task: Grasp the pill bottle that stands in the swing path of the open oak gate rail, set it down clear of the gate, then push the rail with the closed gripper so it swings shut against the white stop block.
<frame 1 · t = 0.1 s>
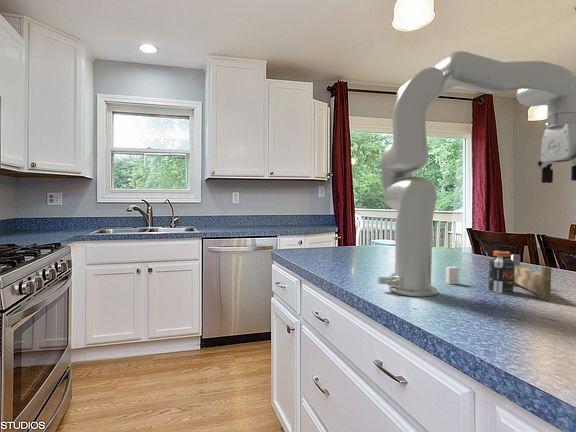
hand: (561, 181, 102), 31 cm above the worktop, fingers open, 9 cm apart
stop block: (451, 283, 108), on the worktop
gate: (531, 276, 97), point 4 cm above the worktop, hinge at 70.0°
hinge post: (514, 284, 107), on the worktop
pill bottle: (500, 292, 98), on the worktop
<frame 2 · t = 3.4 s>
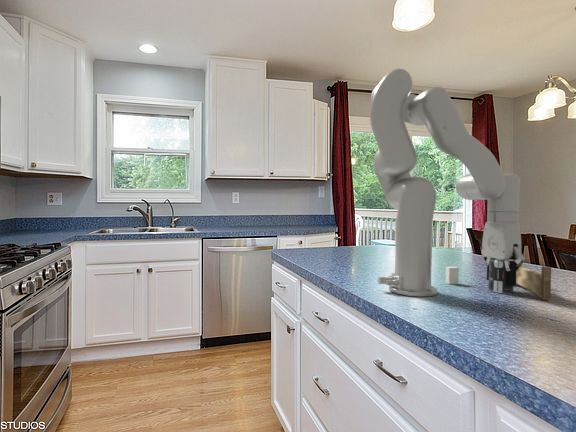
hand: (500, 282, 98), 3 cm above the worktop, fingers closed on pill bottle, 6 cm apart
pill bottle: (500, 292, 98), on the worktop, touching gripper
everything else where it was.
when the fingers open (4 cm above the worktop, at t = 8.5 s): pill bottle drops 1 cm, on the worktop.
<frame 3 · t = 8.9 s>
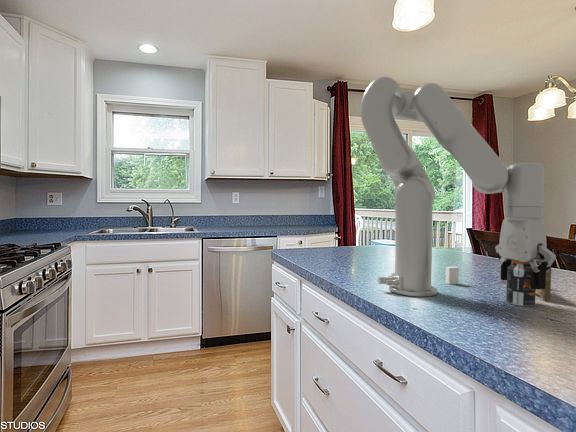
hand: (521, 284, 86), 5 cm above the worktop, fingers open, 9 cm apart
pill bottle: (520, 304, 86), on the worktop
everything else where it was.
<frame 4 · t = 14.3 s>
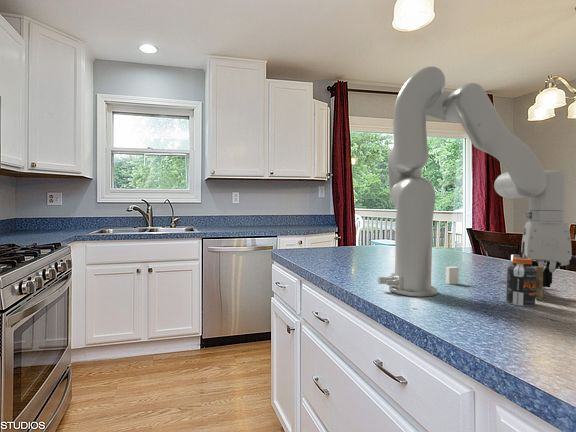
hand: (544, 286, 93), 3 cm above the worktop, fingers closed
gate: (527, 276, 97), point 4 cm above the worktop, hinge at 64.9°, touching gripper
everything else where it was.
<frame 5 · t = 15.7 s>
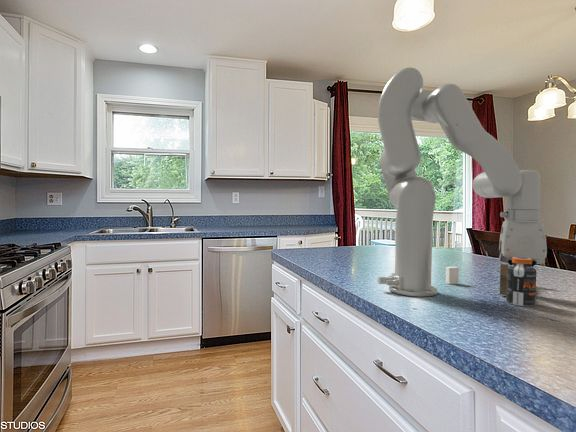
hand: (520, 284, 95), 3 cm above the worktop, fingers closed
gate: (509, 274, 99), point 4 cm above the worktop, hinge at 42.7°, touching gripper
everything else where it was.
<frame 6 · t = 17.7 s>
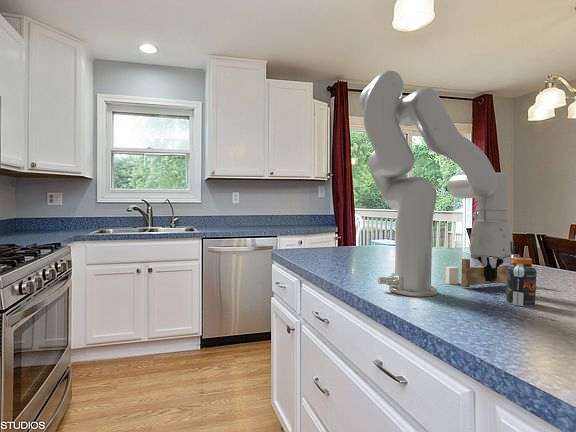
hand: (490, 280, 100), 3 cm above the worktop, fingers closed
gate: (487, 271, 104), point 5 cm above the worktop, hinge at 11.7°, touching gripper
everything else where it was.
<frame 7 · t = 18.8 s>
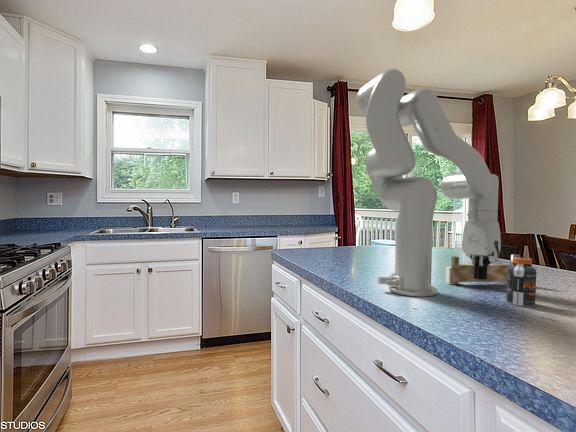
hand: (480, 278, 103), 2 cm above the worktop, fingers closed
gate: (480, 269, 106), point 4 cm above the worktop, hinge at -2.0°, touching gripper
everything else where it was.
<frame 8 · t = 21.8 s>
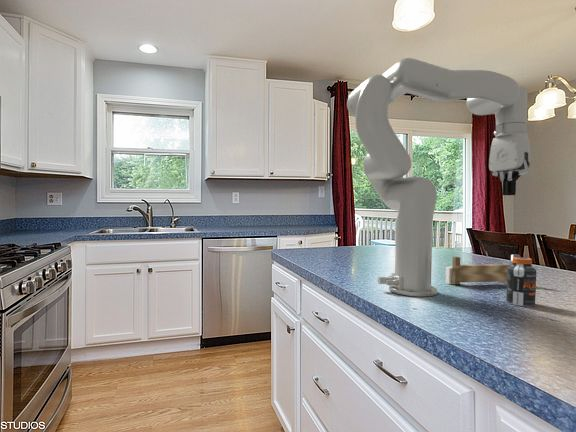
hand: (508, 195, 102), 27 cm above the worktop, fingers closed
gate: (481, 270, 106), point 4 cm above the worktop, hinge at -0.1°
everything else where it was.
at the end: gate at +0° (first picture: +70°); pill bottle inside the target area (0.1 cm from its centre), on the worktop; pill bottle tilted 0° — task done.
